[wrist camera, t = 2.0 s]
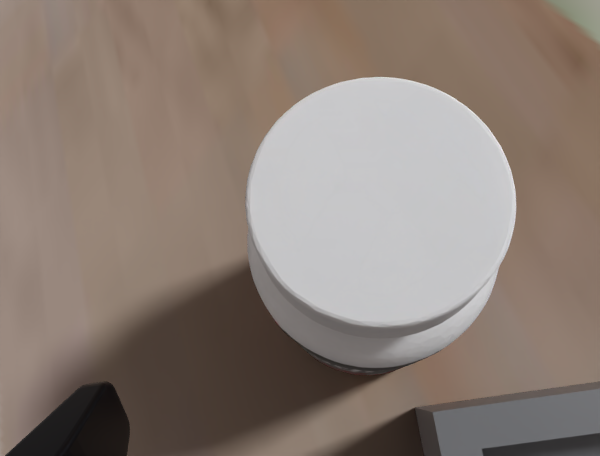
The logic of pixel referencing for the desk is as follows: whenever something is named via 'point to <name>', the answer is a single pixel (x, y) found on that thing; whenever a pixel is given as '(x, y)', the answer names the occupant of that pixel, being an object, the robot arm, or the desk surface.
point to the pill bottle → (377, 222)
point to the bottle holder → (515, 424)
